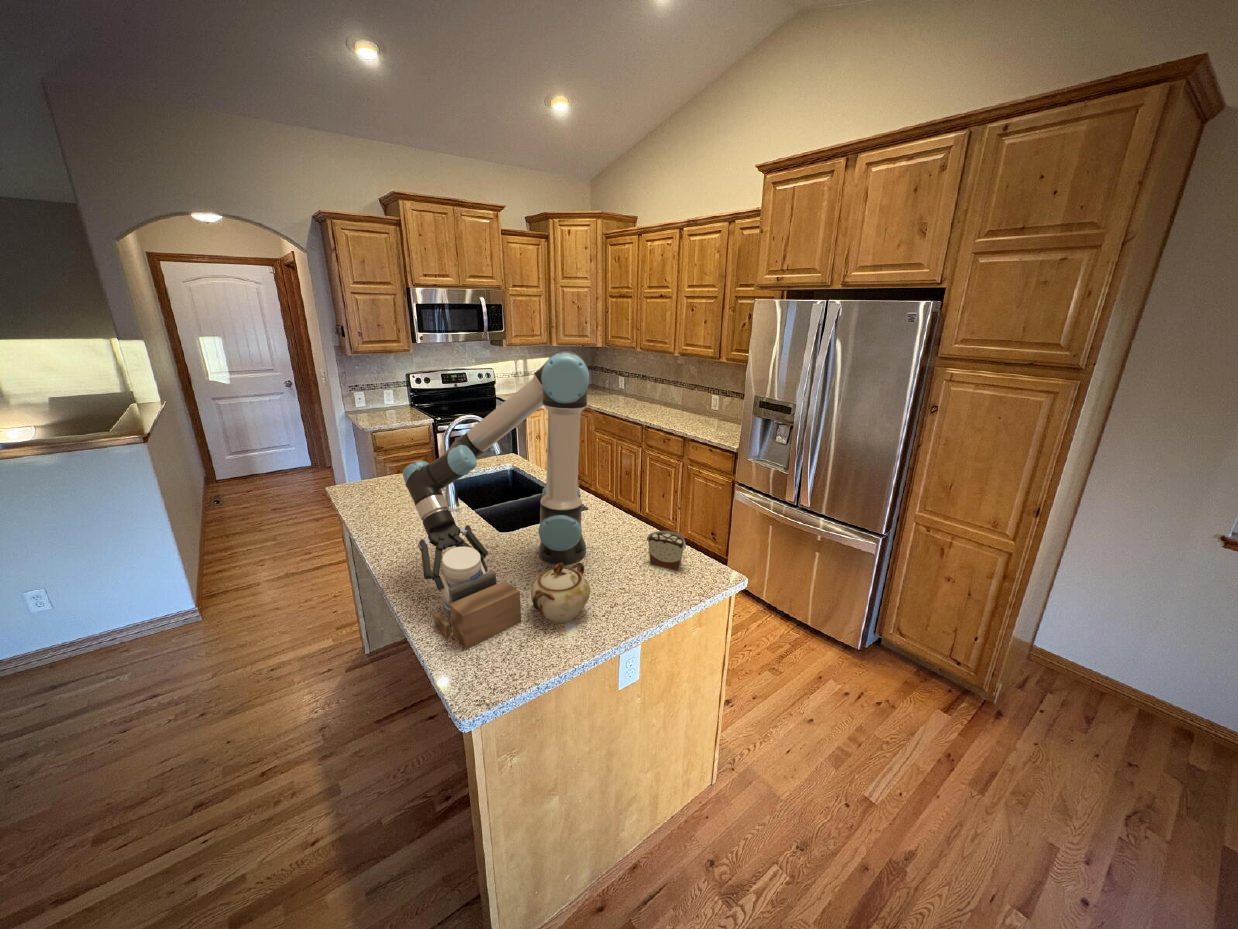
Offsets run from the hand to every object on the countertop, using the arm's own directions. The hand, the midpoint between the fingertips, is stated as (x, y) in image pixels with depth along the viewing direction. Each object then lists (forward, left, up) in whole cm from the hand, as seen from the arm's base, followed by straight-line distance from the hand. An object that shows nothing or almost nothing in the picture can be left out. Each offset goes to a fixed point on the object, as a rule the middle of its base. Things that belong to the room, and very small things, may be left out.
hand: (469, 592), depth 122 cm
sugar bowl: (-23, +3, -7) cm, 24 cm away
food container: (-57, -18, -7) cm, 60 cm away
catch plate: (-1, +2, -6) cm, 6 cm away
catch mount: (-3, +4, -7) cm, 8 cm away
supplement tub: (+3, -5, -6) cm, 8 cm away
